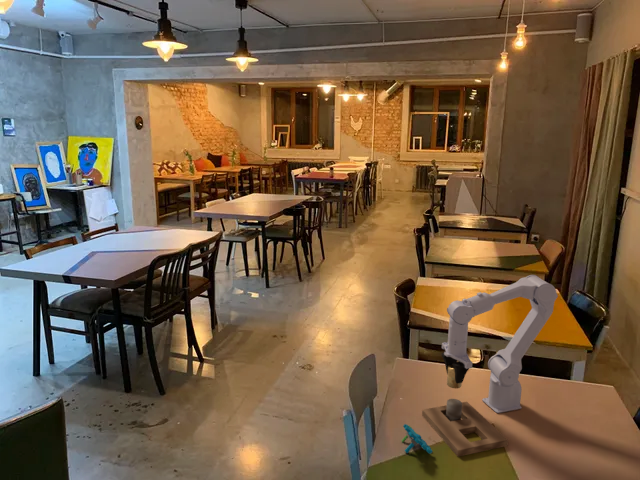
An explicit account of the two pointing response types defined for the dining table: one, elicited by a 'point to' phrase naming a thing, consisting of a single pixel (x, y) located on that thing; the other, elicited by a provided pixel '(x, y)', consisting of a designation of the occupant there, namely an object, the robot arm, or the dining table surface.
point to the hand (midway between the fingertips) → (454, 378)
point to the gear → (414, 440)
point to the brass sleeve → (452, 378)
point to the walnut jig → (463, 427)
